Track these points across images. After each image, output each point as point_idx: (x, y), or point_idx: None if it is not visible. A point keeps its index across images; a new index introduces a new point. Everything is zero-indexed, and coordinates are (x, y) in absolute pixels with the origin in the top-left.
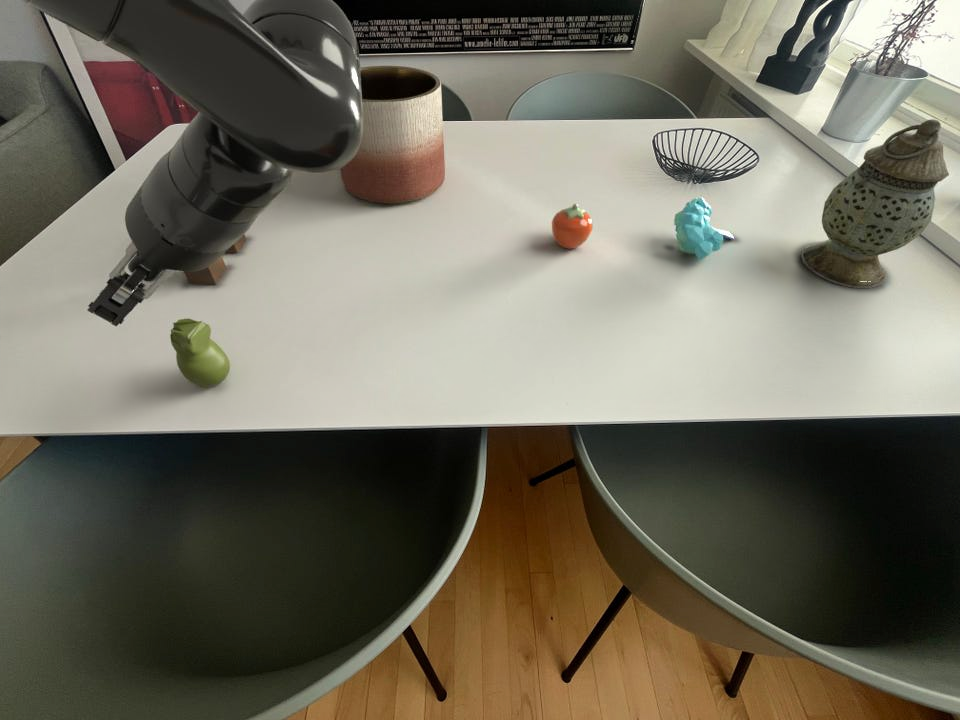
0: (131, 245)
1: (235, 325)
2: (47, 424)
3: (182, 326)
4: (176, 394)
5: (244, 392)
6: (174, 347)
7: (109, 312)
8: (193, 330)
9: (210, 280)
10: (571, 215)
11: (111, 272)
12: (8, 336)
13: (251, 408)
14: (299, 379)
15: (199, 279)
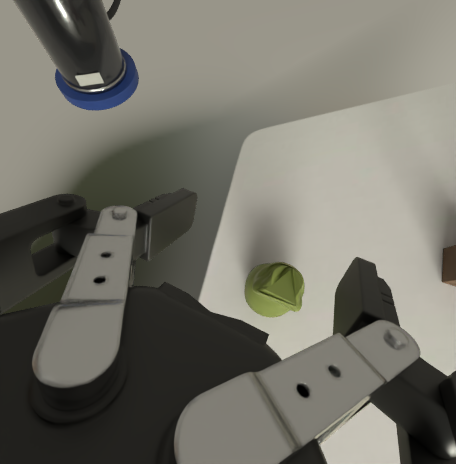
0: (40, 342)
1: None
2: (241, 157)
3: (288, 279)
4: (251, 256)
5: None
6: (264, 267)
7: (54, 237)
8: (276, 296)
9: (448, 276)
10: None
11: (86, 240)
12: (360, 105)
13: None
14: None
15: (449, 262)
